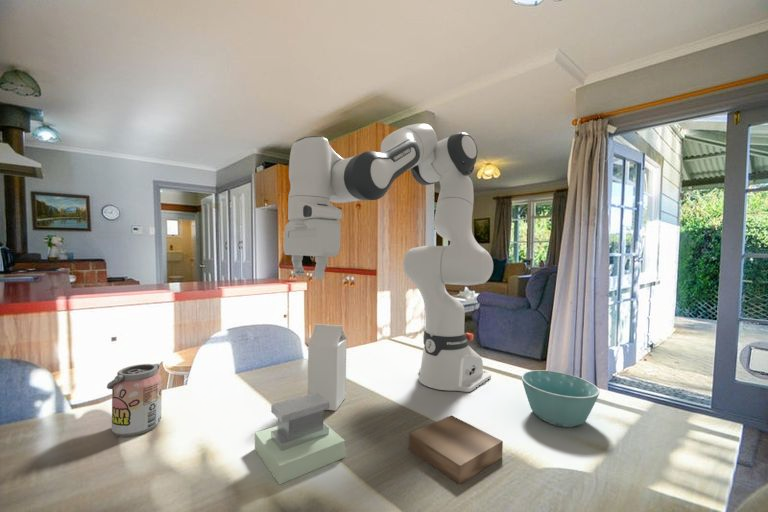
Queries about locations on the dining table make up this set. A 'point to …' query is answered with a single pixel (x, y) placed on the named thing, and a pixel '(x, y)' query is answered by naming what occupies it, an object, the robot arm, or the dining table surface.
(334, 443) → the stand
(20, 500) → the dining table surface
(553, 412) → the bowl
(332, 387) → the milk carton
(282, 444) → the block
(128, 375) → the beverage can
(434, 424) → the stand
